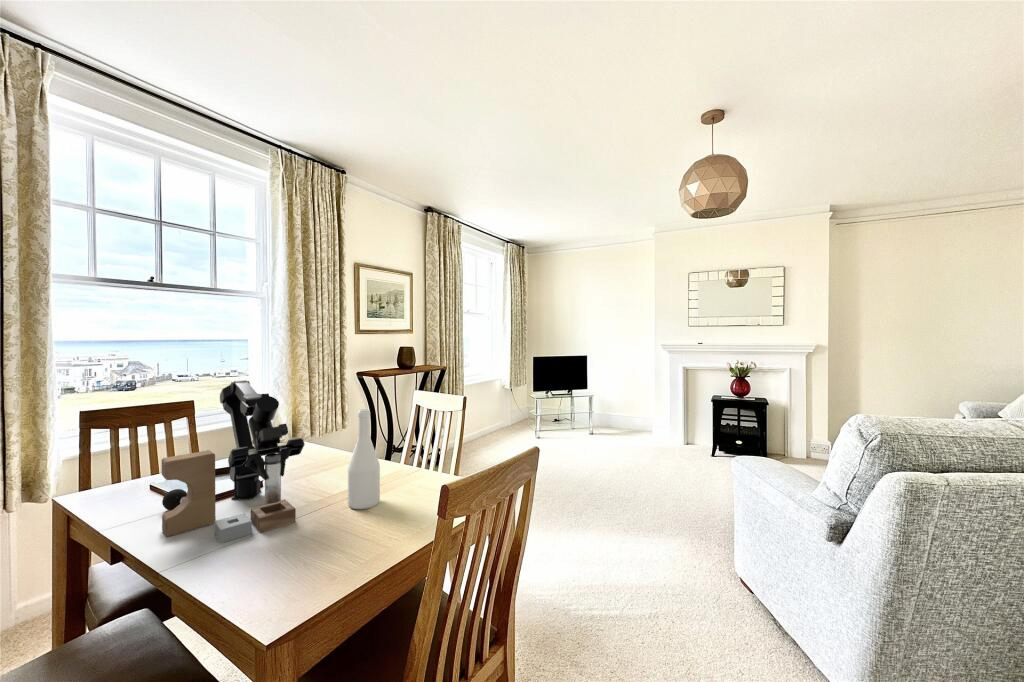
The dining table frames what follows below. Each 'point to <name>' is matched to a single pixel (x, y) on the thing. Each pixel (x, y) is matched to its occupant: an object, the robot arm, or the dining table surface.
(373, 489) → the wine bottle
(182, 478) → the decorative block
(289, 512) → the walnut block
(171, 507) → the billiard ball
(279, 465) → the cylinder
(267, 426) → the robot arm
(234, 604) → the dining table surface
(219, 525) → the slate block
